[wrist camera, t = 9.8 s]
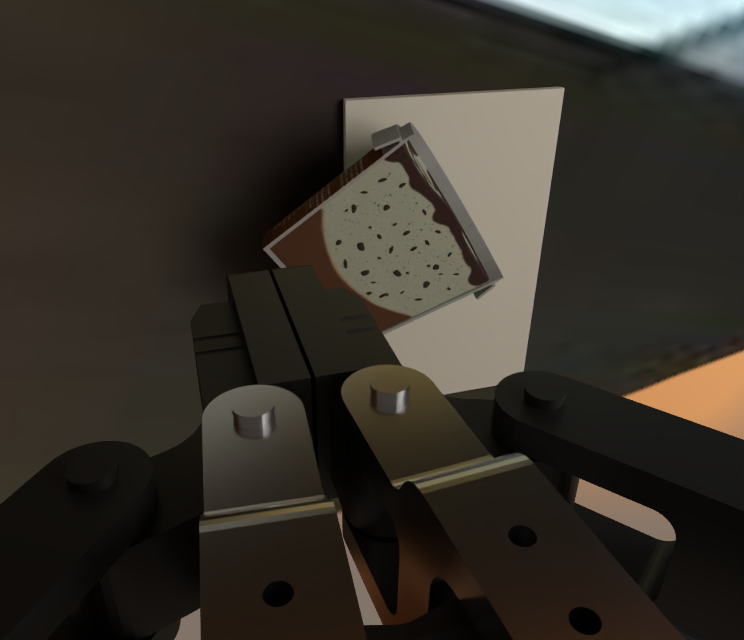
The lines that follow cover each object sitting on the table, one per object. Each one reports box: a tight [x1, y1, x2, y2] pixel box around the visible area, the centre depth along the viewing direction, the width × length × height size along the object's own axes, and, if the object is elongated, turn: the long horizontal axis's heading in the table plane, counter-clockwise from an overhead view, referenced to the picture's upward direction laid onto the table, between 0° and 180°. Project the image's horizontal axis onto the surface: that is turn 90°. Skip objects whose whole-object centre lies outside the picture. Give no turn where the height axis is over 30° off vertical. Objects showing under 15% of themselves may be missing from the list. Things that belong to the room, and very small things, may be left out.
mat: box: [343, 87, 565, 394], centre depth 48 cm, size 14×22×1 cm, turn 0°
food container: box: [263, 122, 504, 335], centre depth 42 cm, size 12×6×10 cm
